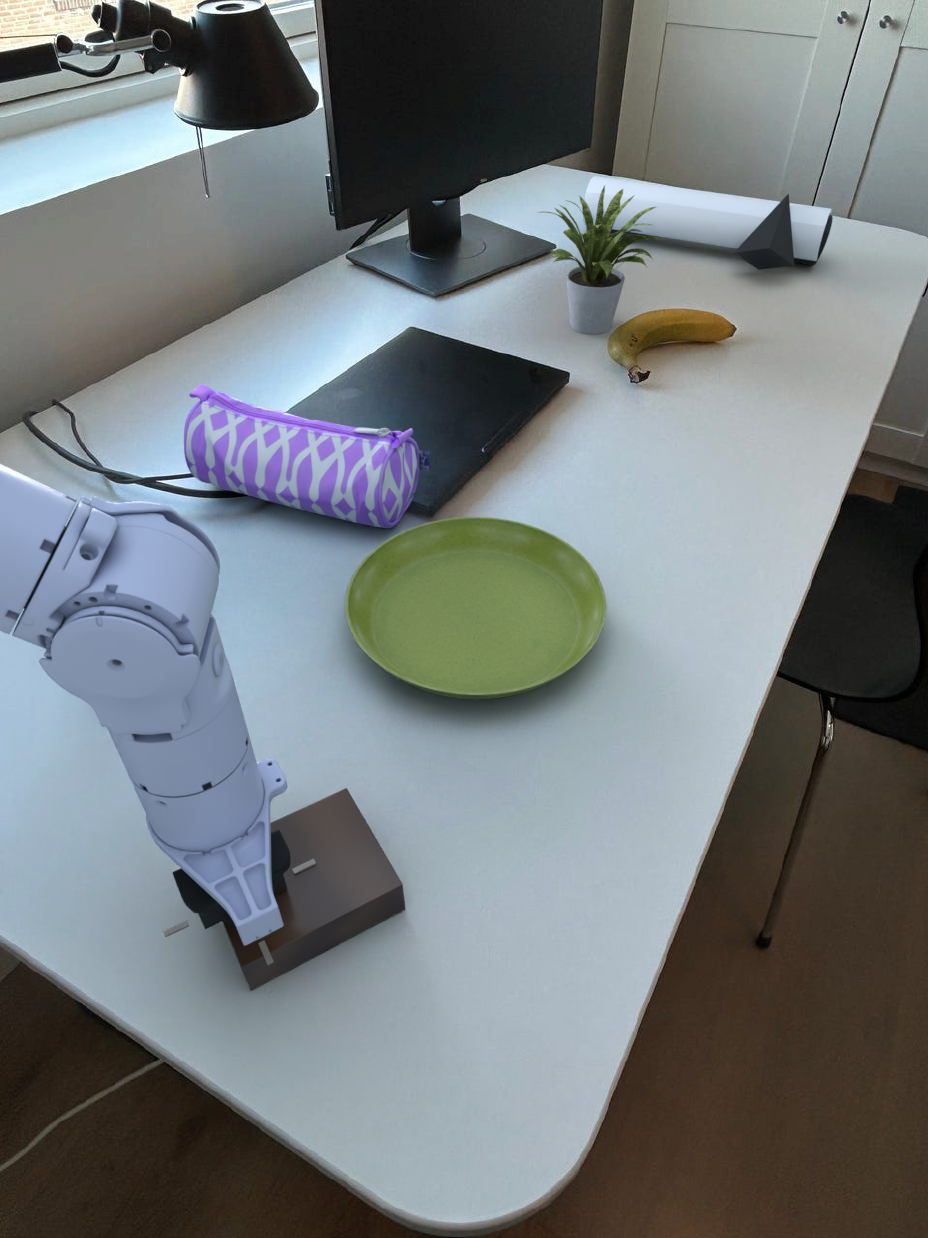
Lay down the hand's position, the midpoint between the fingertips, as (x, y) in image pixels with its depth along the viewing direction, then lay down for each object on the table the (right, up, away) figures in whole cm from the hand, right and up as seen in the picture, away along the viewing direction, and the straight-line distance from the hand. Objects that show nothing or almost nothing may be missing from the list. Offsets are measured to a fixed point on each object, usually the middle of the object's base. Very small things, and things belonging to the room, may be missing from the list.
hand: (240, 893), depth 51 cm
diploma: (+46, +68, +76) cm, 112 cm away
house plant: (+28, +52, +60) cm, 84 cm away
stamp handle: (0, 0, 0) cm, 0 cm away
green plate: (+14, +15, +21) cm, 30 cm away
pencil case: (-2, +27, +34) cm, 44 cm away
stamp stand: (+2, -2, +3) cm, 4 cm away
